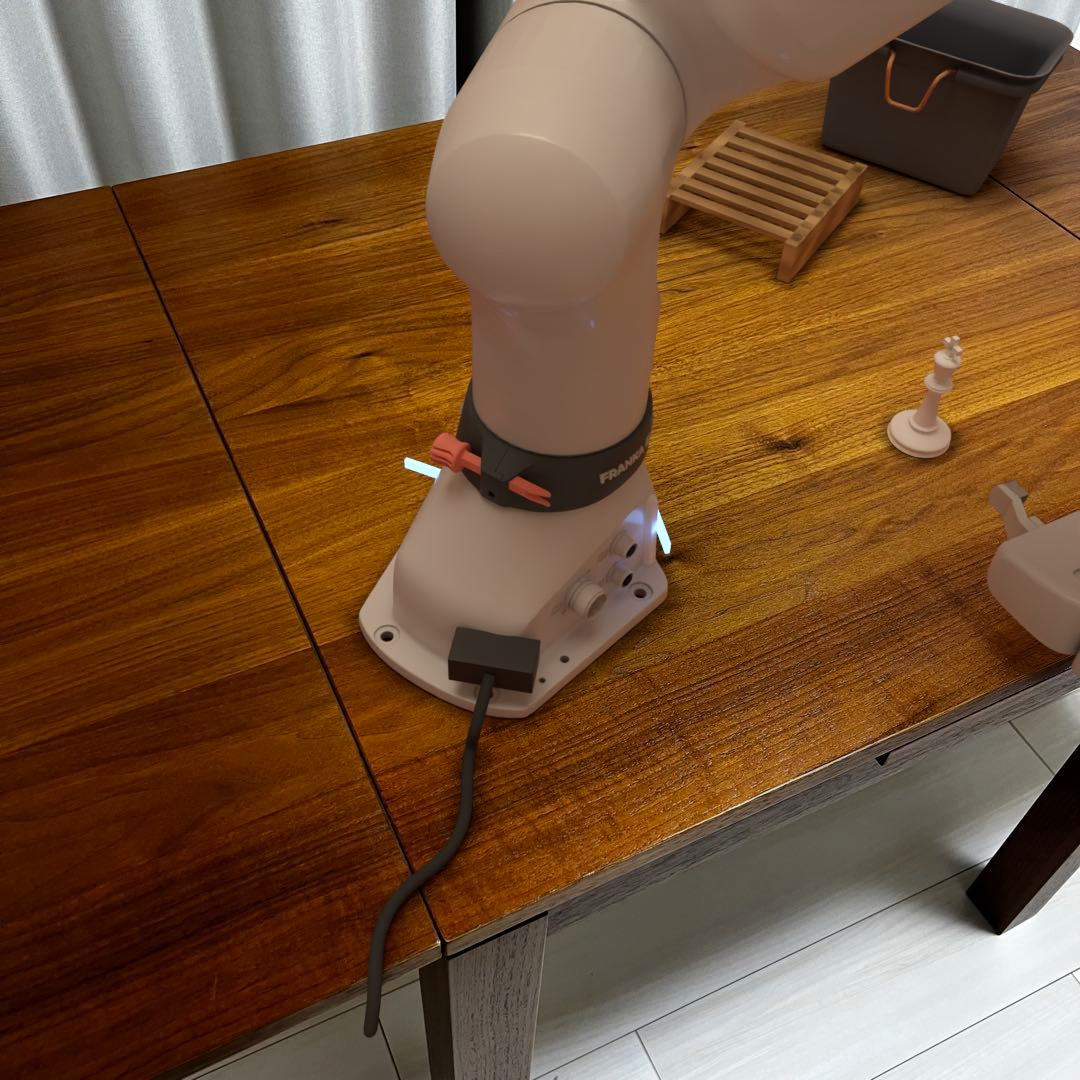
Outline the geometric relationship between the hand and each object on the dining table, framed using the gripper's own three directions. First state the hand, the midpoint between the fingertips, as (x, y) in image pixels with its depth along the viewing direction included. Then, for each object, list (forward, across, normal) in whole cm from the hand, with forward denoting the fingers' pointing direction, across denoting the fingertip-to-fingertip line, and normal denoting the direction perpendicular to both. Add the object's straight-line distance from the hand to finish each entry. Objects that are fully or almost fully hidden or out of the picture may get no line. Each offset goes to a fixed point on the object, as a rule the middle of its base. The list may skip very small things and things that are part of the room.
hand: (1051, 467), depth 83 cm
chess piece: (+11, 0, +7) cm, 13 cm away
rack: (+42, -5, +7) cm, 43 cm away
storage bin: (+44, -25, +7) cm, 51 cm away
